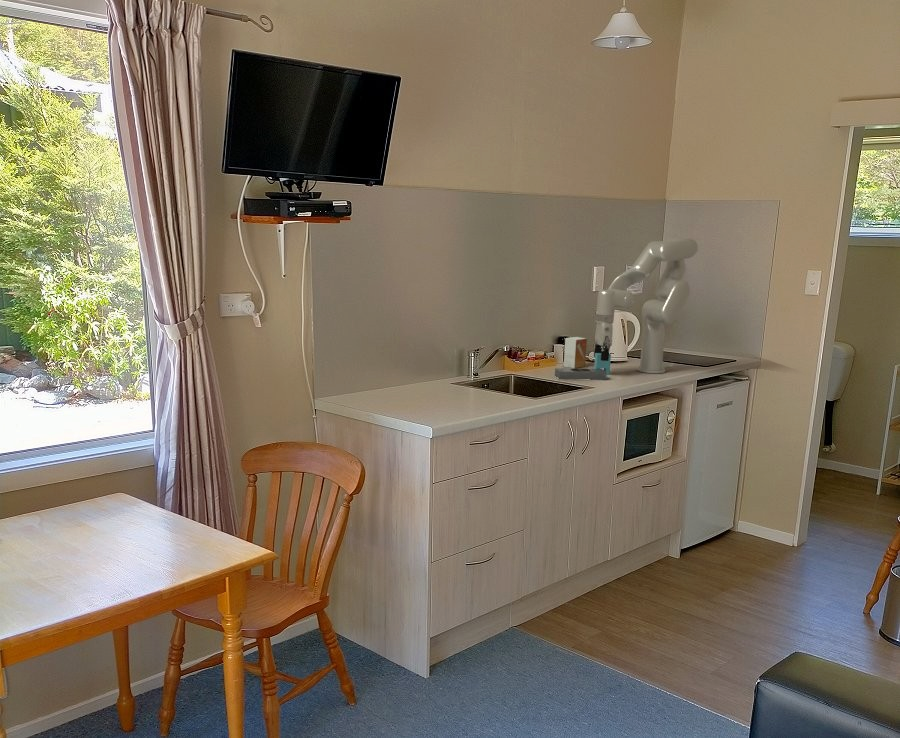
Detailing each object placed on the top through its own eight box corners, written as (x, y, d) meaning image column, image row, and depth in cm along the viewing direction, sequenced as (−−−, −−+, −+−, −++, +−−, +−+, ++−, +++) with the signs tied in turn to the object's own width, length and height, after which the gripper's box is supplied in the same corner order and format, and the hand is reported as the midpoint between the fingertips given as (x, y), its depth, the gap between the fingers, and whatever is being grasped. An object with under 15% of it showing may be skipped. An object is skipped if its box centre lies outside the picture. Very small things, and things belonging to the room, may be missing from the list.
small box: (574, 368, 358) (576, 339, 356) (563, 366, 363) (564, 337, 360) (585, 366, 364) (587, 338, 361) (574, 364, 368) (575, 336, 366)
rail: (600, 376, 341) (601, 368, 341) (605, 380, 335) (606, 371, 334) (554, 376, 339) (555, 368, 338) (558, 379, 332) (559, 371, 331)
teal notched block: (607, 373, 348) (608, 353, 347) (609, 375, 346) (610, 354, 344) (593, 373, 348) (595, 353, 346) (595, 375, 345) (597, 354, 343)
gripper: (619, 321, 334) (615, 362, 337) (606, 317, 351) (603, 355, 354) (602, 321, 333) (598, 361, 336) (590, 316, 350) (586, 355, 353)
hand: (600, 358), depth 345 cm, fingers open, 9 cm apart
